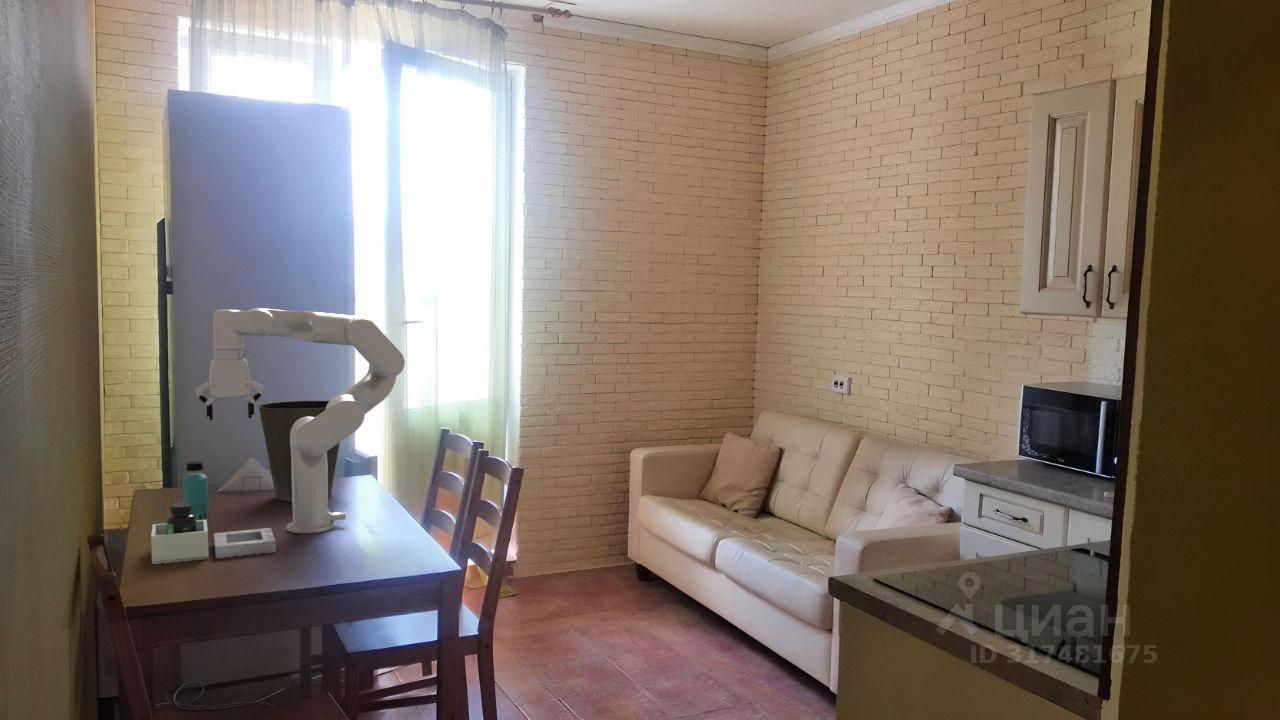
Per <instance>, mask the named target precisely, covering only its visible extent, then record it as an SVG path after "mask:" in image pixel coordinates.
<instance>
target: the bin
mask: <svg viewBox="0 0 1280 720" xmlns="http://www.w3.org/2000/svg"><path fill="white" fill-rule="evenodd" d="M151 527H152V528H151V536H150V541H151V542H150V543H151V545H150V546H151V565H152V564H155V565H162V564H161V563H164V564H170V563H171V564H173V563H172V562H174V563H182V561H183V562H191V561H192V560H193V561H201V560H209V528H208V529H207V520H197V521H196V527H197V532H188V533H178V534H167V527H166V522H165V523H155V524H152V525H151ZM193 561H192V562H193Z"/></svg>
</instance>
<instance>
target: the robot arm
mask: <svg viewBox="0 0 1280 720" xmlns="http://www.w3.org/2000/svg"><path fill="white" fill-rule="evenodd" d="M212 326H213V327H212V328H213V329H212V331H213V332H212V333H213V336H212V337H213V360H210V365H209V375H208V376H209V377H208V382H206V383H203V384H201V385H200V386H198V387H196V388H195V389H194V393H195V394H196V397H198V399H199V400H200V401H201V402H202V403H203V404H204V405H206V417H207V418H209V421H213V419H214V417H213V416H214V413H213V412H214V411H213V409H214V407H213V404H212V403H213V402H214V400H215V399H226V398H227V399H229V398H230V399H233V398H246V400H247V401H248V403H247V418H249V419H253V417H252V416H253V415H255V403H256V402H257V401H258V399H260V398H261V396H262V394H263V393H264V391H265V386H264V385H262V384H260V383H257V382H255V381H252V380H251V378H250V377H251V376H250V374H251V373H250V368H249V363H248V359H245V358H246V357H247V356H251V351H250V350H246V349H245V336H248V337H249V336H250V337H259V338H262V337H265V336H271V337H282V338H291V339H295V340H300V341H302V342H307V343H315V344H330V345H339V346H341V345H342V346H351V347H352V346H353V348H355V350H356V351H357V353H359V354H360V355H361V356H362V358H364V359H365V361H367V363H368V366H369V367H368V370H367V373H366V374H365V375H364V377H362V379H360V380H359V381H357V382H356V383H355V384H354V385H352V386H351V387H349V388H348V389H346V390H344V391H343V392H342V393H340V394H339V395H337V396H334V397H333V398H332V399H330V400H328V401H329V403H328V404H327V406H326V408H325V411H324V412H322V413H321V414H319V415H318V416H316V417H311V416H307V417H303V418H300V419H298V420H297V421H296V422H295V423H294V424H293V426H292V428H291V432H290V446H291V463H292V502H291V503H292V504H291V505H292V508H291V509H292V510H291V512H292V522H289V523H288V524H287V525H286V530H287V531H288V532H290V533H295V534H303V535H304V534H315V533H323V532H327V531H329V530H332V529H333V528H334V527H335V521H338V520H339V521H341V520H346V517H347V516H346V512H340V511H337V512H336V511H335V512H330V509H329V497H328V479H327V473H328V466H327V451H328V450H329V449H331V448H332V447H334V446H335V445H337V444H338V443H339V442H340V443H341V442H342V441H344V440H345V439H346V438H349V437H350V436H352V434H354V433H355V432H357V431H358V429H360V427H361V426H362V425H363V422H364V421H365V418H366V417H365V415H366V414H367V413H369V412H370V411H372V410H373V409H374V408H375V407H377V406H378V405H380V404H381V403H382V402H383V401H384V400H385V399H387V397H388V396H390V394H391V392H392V391H393V389H394V387H395V385H396V381H397V376H399V375H400V374H401V373H402V372H403V371H404V368H405V364H406V363H405V362H406V361H405V357H404V355H403V353H402V351H400V349H398V347H397V346H395V344H394V343H393V342H392V341H391V340H390V339H389V338H388V337H387V336H386V335H385V333H383V331H382V330H381V329H380V328H379V327H378V326H377V325H376V324H375V322H373V321H372V320H371V319H369V318H368V317H364V316H358V315H352V314H351V315H349V314H339V313H329V312H327V313H326V312H318V311H297V310H296V311H294V310H284V309H283V310H282V309H273V308H272V309H271V308H261V307H253V308H251V309H249V310H248V309H247V310H239V309H233V308H231V309H216V310H215V311H214V312H213V315H212ZM251 387H252V388H254V389H257V392H256V393H255V394H254V395H253V396H252V395H251ZM206 389H208V391H209V392H208V393H209V396H208V397H206V396H205V395H204V394H203V391H205V390H206ZM340 443H339V444H340Z"/></svg>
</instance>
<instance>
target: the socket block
mask: <svg viewBox="0 0 1280 720" xmlns="http://www.w3.org/2000/svg"><path fill="white" fill-rule="evenodd" d="M213 540H214V541H213V542H214V543H213V546H214V554H215V559H218V558H219V559H227V558H226V557H228V558H235V557H234V556H238V557H244V556H243V555H247V556H252V555H251V554H256V555H262V554H261V553H266V554H271V553H270V552H275V553H276V552H277V551H276V550H277V549H276V539H275V535H274V533H273V530H272V528H271V527H265V528H256V529H245V530H244V529H243V530H237V531H236V530H233V531H224V532H223V531H221V532H214V533H213ZM219 559H218V560H219Z"/></svg>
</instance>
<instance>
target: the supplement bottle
mask: <svg viewBox="0 0 1280 720" xmlns="http://www.w3.org/2000/svg"><path fill="white" fill-rule="evenodd" d="M169 509H170V511H169V514H170V515H169V516H168V517H167V518H166V522H165V523H166V527H167V534H178V533H188V532H197V527H196V517H195V515H193V514H192V513H191V512H192V507H191V504H190V503H184V502H180V503H173V504H171V505H170V508H169Z"/></svg>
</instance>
